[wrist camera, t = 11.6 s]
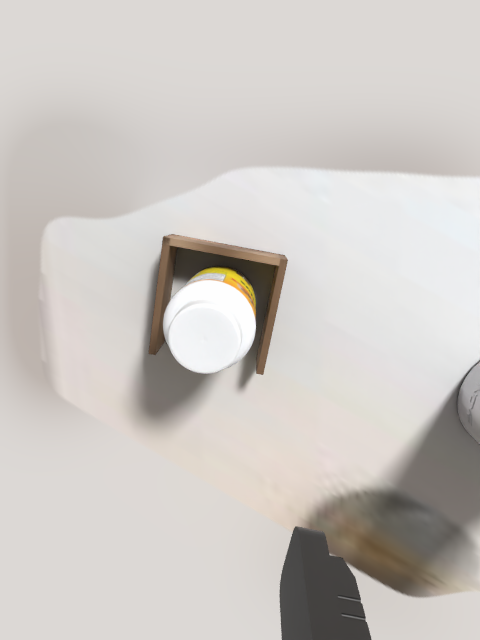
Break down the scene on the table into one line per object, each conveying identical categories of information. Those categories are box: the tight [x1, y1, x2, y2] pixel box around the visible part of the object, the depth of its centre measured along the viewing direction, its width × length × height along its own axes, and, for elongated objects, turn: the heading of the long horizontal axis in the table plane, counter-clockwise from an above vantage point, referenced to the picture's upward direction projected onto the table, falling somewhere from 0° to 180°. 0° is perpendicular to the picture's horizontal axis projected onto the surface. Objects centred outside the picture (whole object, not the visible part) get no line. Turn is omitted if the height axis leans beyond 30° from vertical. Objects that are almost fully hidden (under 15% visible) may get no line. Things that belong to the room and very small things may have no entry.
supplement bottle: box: [163, 266, 256, 374], centre depth 26 cm, size 6×6×10 cm
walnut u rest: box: [149, 234, 288, 375], centre depth 29 cm, size 9×9×3 cm
